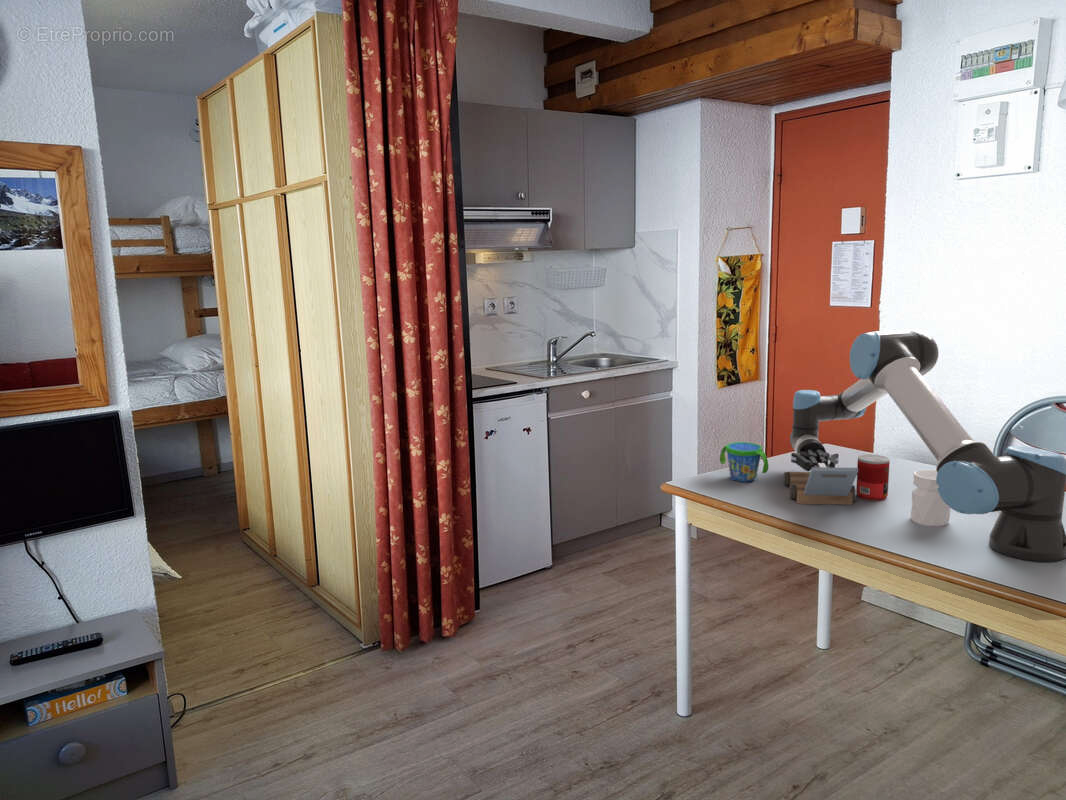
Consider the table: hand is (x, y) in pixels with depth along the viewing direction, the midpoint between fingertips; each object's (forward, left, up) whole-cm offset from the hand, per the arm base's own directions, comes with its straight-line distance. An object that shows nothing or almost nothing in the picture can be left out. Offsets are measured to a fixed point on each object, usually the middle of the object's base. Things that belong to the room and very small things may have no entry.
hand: (825, 474), depth 205 cm
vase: (-10, -23, -10) cm, 27 cm away
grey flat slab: (+4, -2, -7) cm, 8 cm away
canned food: (+10, -17, -10) cm, 22 cm away
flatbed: (+15, -4, -10) cm, 18 cm away
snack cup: (+30, +13, -10) cm, 34 cm away
